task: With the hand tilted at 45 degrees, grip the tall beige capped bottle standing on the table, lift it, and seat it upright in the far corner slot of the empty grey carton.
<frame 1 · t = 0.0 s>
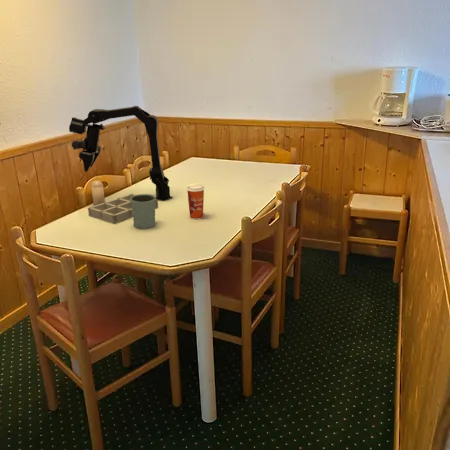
hand: (88, 169, 208), 15 cm above the table, tool pointing down, fingers open, 9 cm apart
beige capped bottle: (99, 206, 205), on the table
grey green pot: (145, 225, 182), on the table
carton: (124, 211, 198), on the table
paper cup: (196, 217, 191), on the table
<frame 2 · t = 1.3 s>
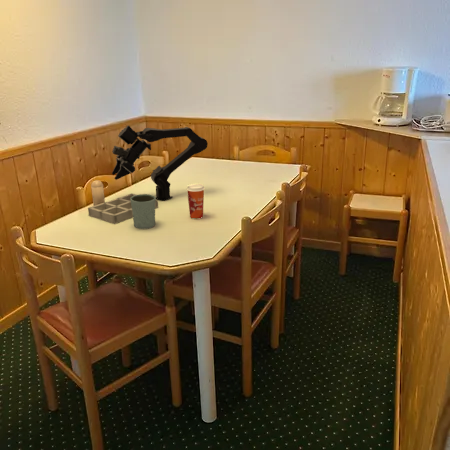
hand: (113, 176, 203), 13 cm above the table, tool tilted 45°, fingers open, 9 cm apart
nothing on the table moved.
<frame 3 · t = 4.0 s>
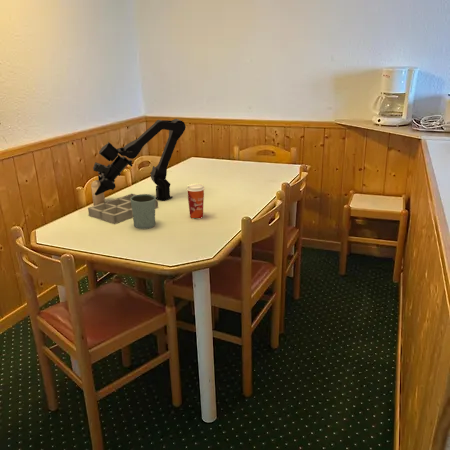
hand: (94, 193, 202), 7 cm above the table, tool tilted 45°, fingers closed on beige capped bottle, 5 cm apart
beige capped bottle: (99, 206, 205), on the table, touching gripper
everything else where it was.
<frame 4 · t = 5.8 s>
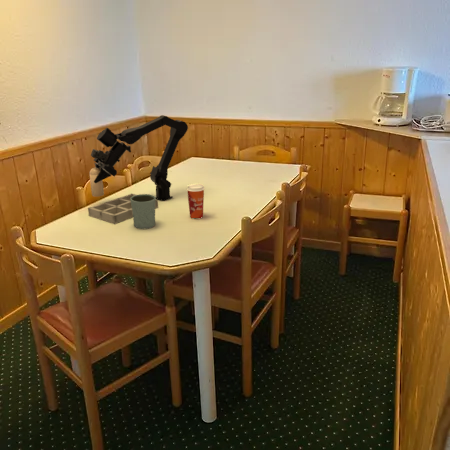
hand: (93, 181, 195), 14 cm above the table, tool tilted 45°, fingers closed on beige capped bottle, 5 cm apart
beige capped bottle: (98, 194, 199), point 7 cm above the table, touching gripper
everything else where it was.
when the fingers open (9 cm above the table, at t = 7.7 s): beige capped bottle drops 2 cm, resting on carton.
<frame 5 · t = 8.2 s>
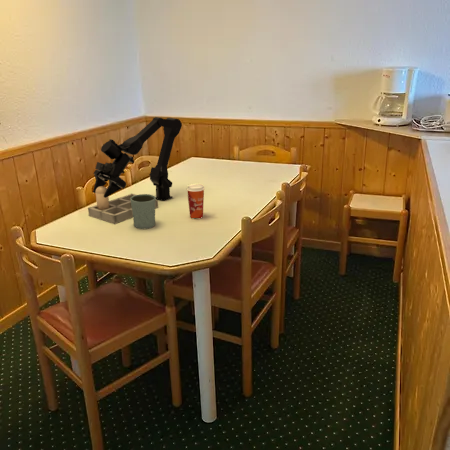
hand: (99, 194, 190), 10 cm above the table, tool tilted 45°, fingers open, 9 cm apart
beige capped bottle: (104, 213, 194), point 1 cm above the table, touching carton
everything else where it was.
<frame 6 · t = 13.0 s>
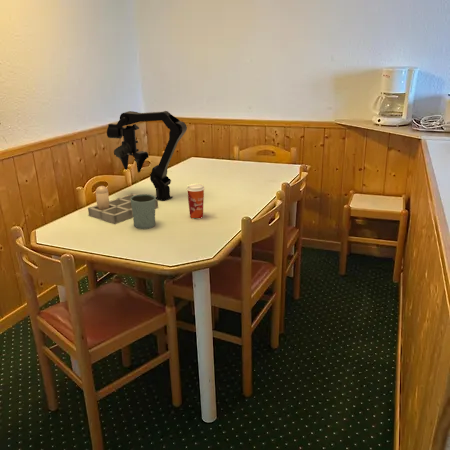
hand: (132, 170, 214), 13 cm above the table, tool pointing down, fingers open, 9 cm apart
nothing on the table moved.
at the end: beige capped bottle 0.0 cm from the target spot on the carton, point 0.6 cm above the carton's base; beige capped bottle tilted 1°; the gripper is holding nothing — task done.
